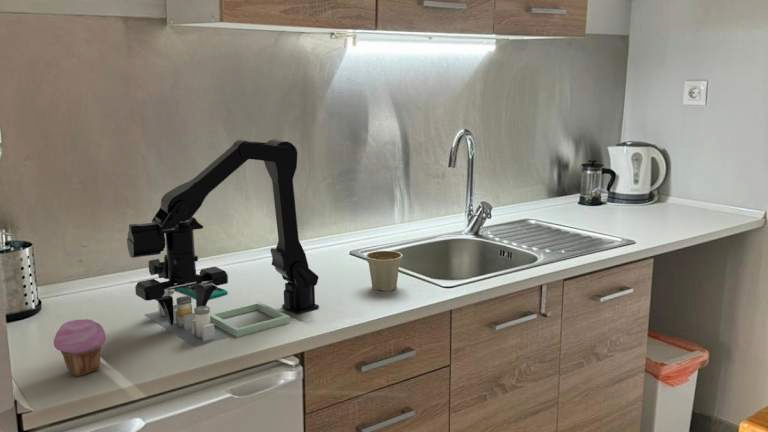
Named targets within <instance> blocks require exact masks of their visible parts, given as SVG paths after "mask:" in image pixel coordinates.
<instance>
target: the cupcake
mask: <svg viewBox="0 0 768 432" xmlns="http://www.w3.org/2000/svg"><path fill="white" fill-rule="evenodd" d="M105 332H106V331H105V329H104V327H103V326H102V325H101V324H100V323H99V322H96V321H94V320H92V319H88V318H84V319H73V320H69V321H67V322H65V323H63V324H61V326H60V327H59V329H58V331H56V333H55V336H54V337H53V347H54V348H55V349H56V350H57V351H59V352H60V353H61V354H62V356H63V359H64V363H65V365H66V369H68V371H69V372H70V373H71V374H72V375H74V376H76V377H78V376H83V375H86V374H88V373H91V372H96V371H97V370H99V369H100V367H101V349H102V346H104V343H105V341H106V339H107V338H106V337H107V335H106V333H105Z"/></svg>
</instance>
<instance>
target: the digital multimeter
mask: <svg viewBox="0 0 768 432" xmlns="http://www.w3.org/2000/svg"><path fill="white" fill-rule="evenodd" d="M174 291H177V292H180V293H183V294H185V295H187V296H189V297H191V298H194V299H196V291H195V288H194V285H190V286H186V287H181V288H176V289H174ZM228 294H229V291H228V290H226V289H224V288H220V287H218V286H217V289H216V290H214V291H213V293H212V294H211V296H210V298H209V300H214V299H217V298H222V297H224V296H227V295H228ZM209 300H208V301H209Z"/></svg>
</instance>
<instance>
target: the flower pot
mask: <svg viewBox="0 0 768 432" xmlns="http://www.w3.org/2000/svg"><path fill="white" fill-rule="evenodd" d="M365 258H366V260H367V263H368V267H369V273H370V274H369V275H370V280H371V287H372V289H374V290H376V291H379V290H380V291H383V292H387V291H392V290H395V289H396V288H397V286H398V278H399V270H400V263H401V261H402V258H403V254H402V253H401V252H399V251H394V250H375V251H371V252H368V253H366V254H365Z"/></svg>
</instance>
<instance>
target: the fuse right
mask: <svg viewBox="0 0 768 432" xmlns="http://www.w3.org/2000/svg"><path fill="white" fill-rule="evenodd" d="M193 310H194V312H193V313H195V325H196V338H199V339H202V326H204V325H208V324H211V322H210V314H211V308H210V306H208V305H206V306H199V307H196V306H195V307H194V308H193Z"/></svg>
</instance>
